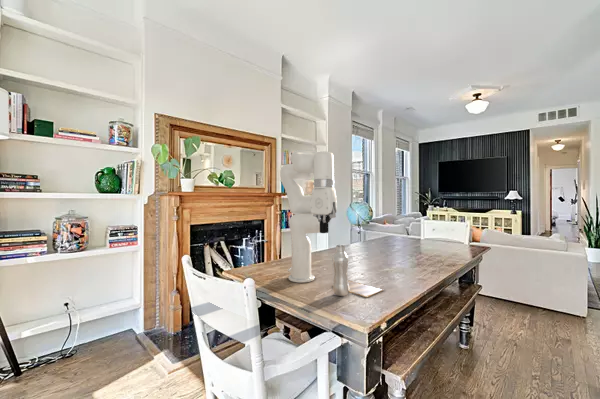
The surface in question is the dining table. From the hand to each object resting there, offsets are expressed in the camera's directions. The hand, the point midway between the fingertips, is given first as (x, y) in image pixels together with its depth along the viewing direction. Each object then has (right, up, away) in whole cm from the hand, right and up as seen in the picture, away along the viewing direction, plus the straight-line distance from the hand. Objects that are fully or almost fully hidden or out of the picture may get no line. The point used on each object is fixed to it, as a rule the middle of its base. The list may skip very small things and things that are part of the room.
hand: (324, 232), depth 107 cm
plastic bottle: (+7, -26, +7) cm, 28 cm away
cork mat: (+16, -26, +15) cm, 34 cm away
